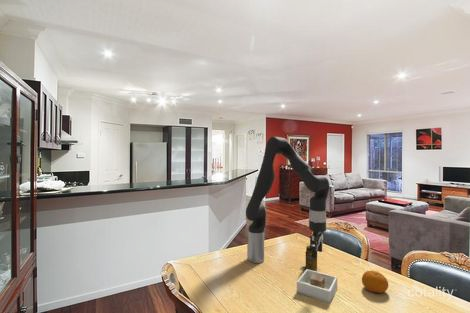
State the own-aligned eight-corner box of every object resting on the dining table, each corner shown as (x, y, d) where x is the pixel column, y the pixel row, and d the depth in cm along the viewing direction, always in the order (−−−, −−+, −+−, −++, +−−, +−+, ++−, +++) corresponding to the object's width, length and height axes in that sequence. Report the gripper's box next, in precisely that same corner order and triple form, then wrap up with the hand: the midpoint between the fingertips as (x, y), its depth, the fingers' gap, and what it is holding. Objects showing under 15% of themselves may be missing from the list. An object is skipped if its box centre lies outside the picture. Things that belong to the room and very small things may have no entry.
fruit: (388, 299, 104) (388, 280, 104) (361, 292, 110) (361, 274, 110) (388, 288, 113) (388, 270, 113) (362, 281, 118) (362, 265, 118)
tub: (296, 292, 109) (296, 281, 109) (306, 279, 121) (306, 269, 121) (330, 303, 101) (330, 291, 101) (337, 287, 113) (337, 277, 113)
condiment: (320, 269, 131) (320, 247, 131) (310, 274, 126) (310, 251, 126) (309, 264, 137) (309, 243, 137) (299, 268, 133) (299, 246, 133)
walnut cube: (310, 289, 110) (310, 278, 110) (313, 284, 115) (313, 273, 115) (321, 292, 108) (321, 281, 108) (324, 287, 112) (324, 276, 112)
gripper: (313, 215, 119) (313, 247, 119) (304, 221, 107) (304, 258, 107) (329, 217, 115) (329, 251, 115) (321, 224, 103) (321, 262, 103)
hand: (317, 254), depth 111 cm, fingers open, 8 cm apart
